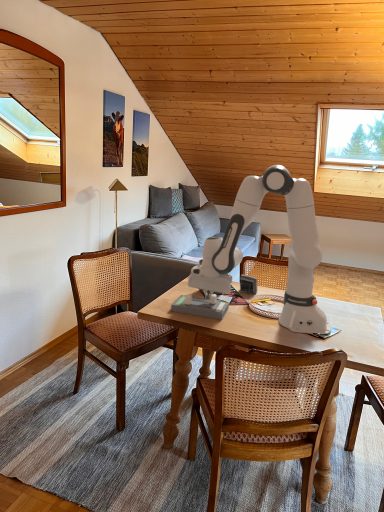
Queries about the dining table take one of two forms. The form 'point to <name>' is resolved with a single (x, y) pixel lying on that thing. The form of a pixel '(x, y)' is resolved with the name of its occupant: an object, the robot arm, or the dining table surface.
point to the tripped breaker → (213, 298)
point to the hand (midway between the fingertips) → (207, 298)
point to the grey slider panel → (200, 307)
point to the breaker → (188, 299)
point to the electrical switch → (248, 284)
